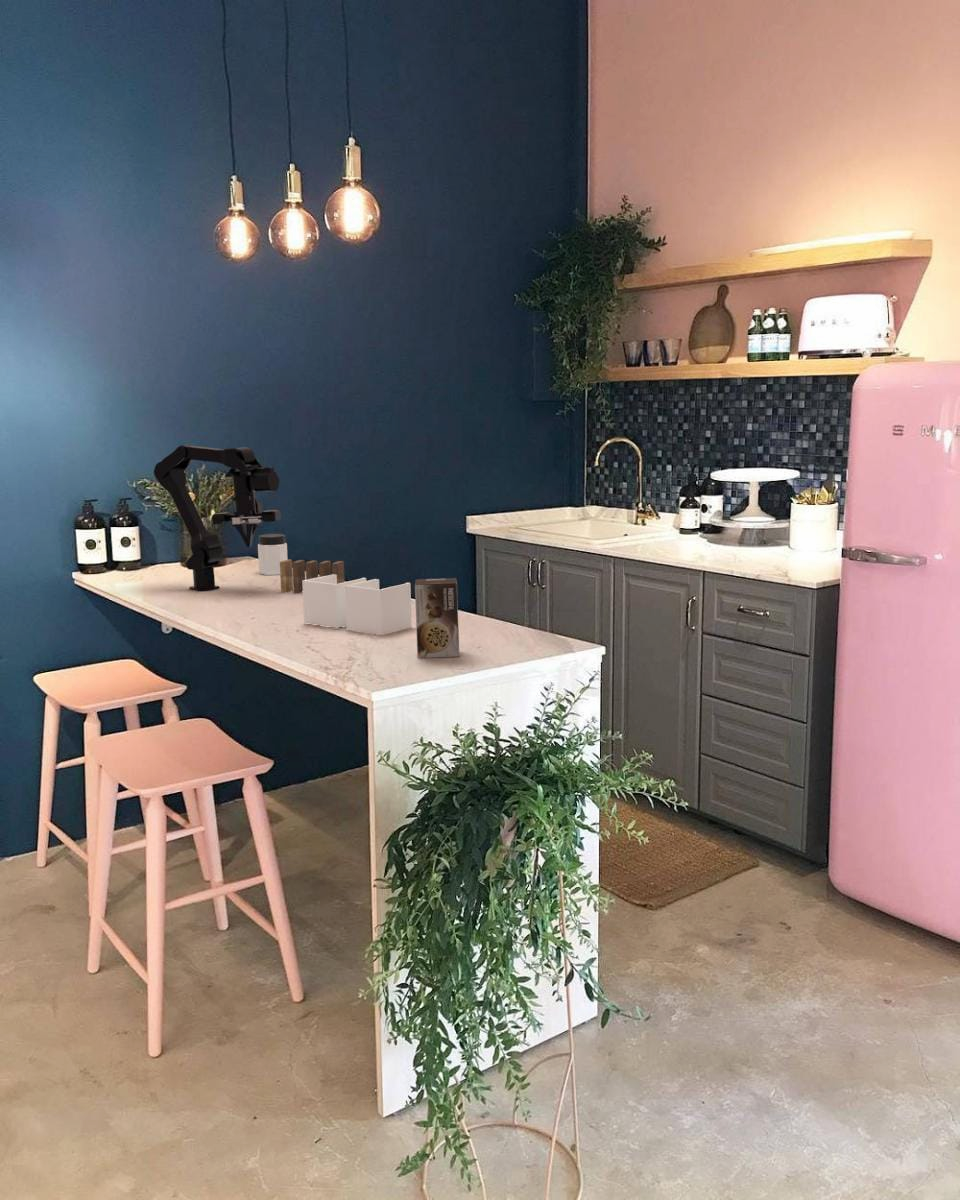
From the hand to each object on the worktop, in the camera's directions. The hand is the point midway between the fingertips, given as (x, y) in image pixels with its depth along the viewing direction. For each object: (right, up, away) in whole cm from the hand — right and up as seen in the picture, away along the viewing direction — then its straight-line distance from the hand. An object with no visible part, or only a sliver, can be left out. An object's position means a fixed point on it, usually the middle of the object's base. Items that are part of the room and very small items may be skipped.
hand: (249, 547), depth 318 cm
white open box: (+36, -22, -46) cm, 62 cm away
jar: (+1, -7, +35) cm, 36 cm away
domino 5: (+26, -13, -2) cm, 29 cm away
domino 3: (+18, -13, 0) cm, 22 cm away
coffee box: (+57, -27, -77) cm, 100 cm away
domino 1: (+10, -12, +2) cm, 16 cm away
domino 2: (+14, -13, +1) cm, 19 cm away
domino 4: (+22, -13, -1) cm, 26 cm away
